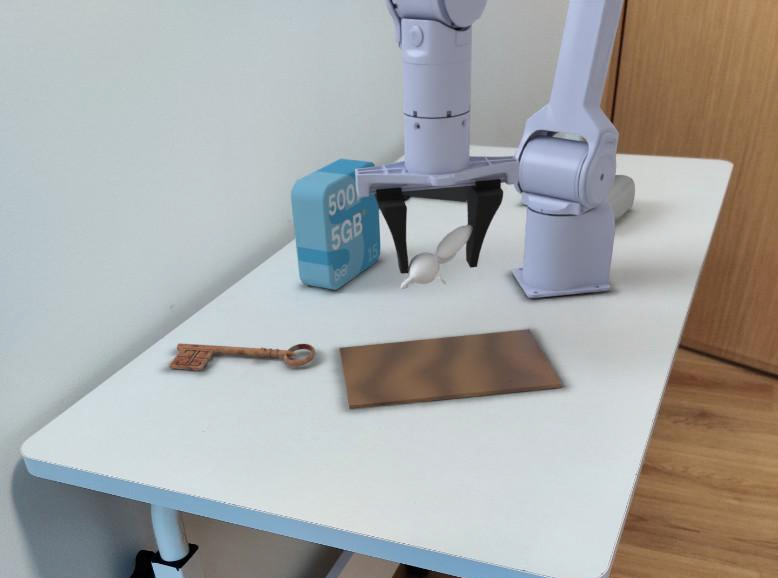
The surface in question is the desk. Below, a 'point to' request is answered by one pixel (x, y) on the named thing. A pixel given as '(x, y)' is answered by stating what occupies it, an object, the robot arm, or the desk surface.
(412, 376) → the brown wooden board
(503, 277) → the desk surface
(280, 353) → the key
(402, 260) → the robot arm
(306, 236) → the data package
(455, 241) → the rabbit figurine
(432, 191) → the vhs tape
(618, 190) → the infrared thermometer
